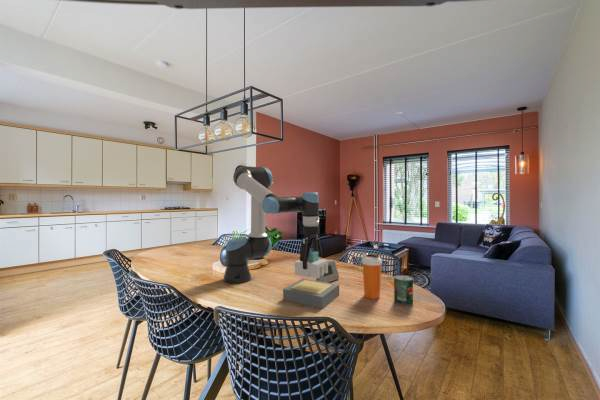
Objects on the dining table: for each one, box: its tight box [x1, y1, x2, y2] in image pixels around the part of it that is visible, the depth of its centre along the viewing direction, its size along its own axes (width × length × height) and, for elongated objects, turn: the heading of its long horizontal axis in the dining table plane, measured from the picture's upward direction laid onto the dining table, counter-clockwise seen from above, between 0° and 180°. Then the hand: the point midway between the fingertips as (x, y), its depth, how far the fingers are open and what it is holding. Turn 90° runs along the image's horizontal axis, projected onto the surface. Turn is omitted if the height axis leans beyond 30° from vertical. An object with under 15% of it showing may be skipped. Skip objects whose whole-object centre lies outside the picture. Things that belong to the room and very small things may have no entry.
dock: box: [282, 277, 340, 310], centre depth 126 cm, size 20×18×5 cm
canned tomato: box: [393, 274, 414, 307], centre depth 120 cm, size 8×8×11 cm
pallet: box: [294, 258, 329, 279], centre depth 126 cm, size 12×10×6 cm
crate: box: [308, 250, 318, 262], centre depth 126 cm, size 5×5×4 cm
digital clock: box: [315, 259, 340, 283], centre depth 150 cm, size 16×9×11 cm, turn 122°
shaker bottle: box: [361, 252, 383, 300], centre depth 127 cm, size 9×9×20 cm
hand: (311, 272), depth 126 cm, fingers closed on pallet, 10 cm apart
